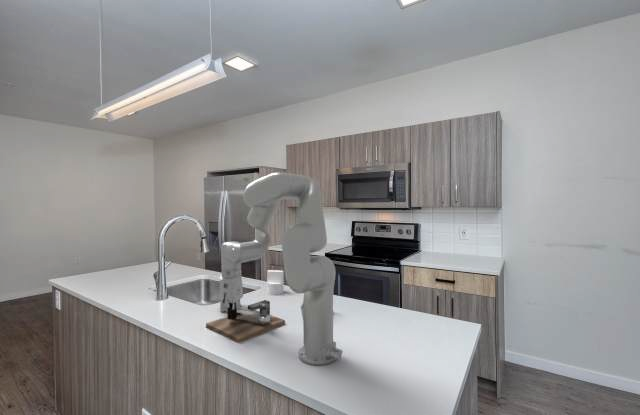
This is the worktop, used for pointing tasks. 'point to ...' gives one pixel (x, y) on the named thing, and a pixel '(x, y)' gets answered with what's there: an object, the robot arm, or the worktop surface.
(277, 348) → the worktop surface
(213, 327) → the board
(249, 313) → the link
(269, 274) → the cylinder with rectangular tab
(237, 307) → the supplement box
